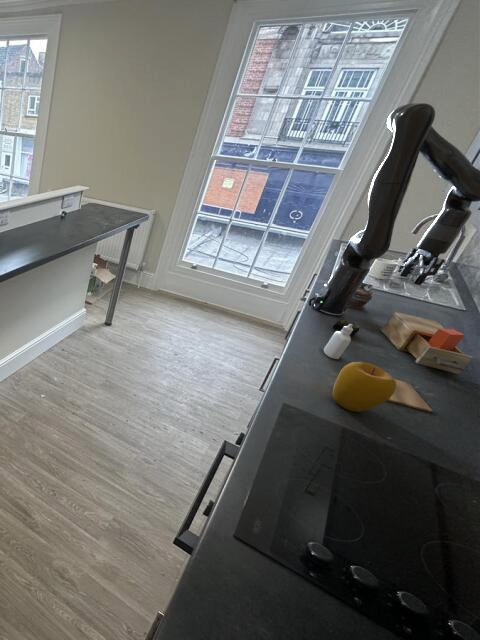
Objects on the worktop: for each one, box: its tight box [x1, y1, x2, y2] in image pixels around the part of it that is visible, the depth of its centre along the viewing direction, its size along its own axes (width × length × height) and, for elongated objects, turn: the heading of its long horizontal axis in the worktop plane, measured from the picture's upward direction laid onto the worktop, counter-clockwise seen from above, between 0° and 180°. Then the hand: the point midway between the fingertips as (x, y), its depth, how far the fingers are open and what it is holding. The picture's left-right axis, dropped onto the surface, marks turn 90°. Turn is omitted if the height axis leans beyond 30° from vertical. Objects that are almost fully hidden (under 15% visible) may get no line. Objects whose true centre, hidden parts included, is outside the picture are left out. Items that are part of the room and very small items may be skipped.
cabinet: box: [381, 311, 446, 354], centre depth 142 cm, size 15×12×8 cm
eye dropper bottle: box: [323, 324, 353, 360], centre depth 130 cm, size 4×6×12 cm
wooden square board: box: [386, 378, 434, 413], centre depth 118 cm, size 12×14×1 cm
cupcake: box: [346, 281, 374, 310], centre depth 169 cm, size 10×10×10 cm
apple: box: [332, 361, 396, 413], centre depth 107 cm, size 11×11×13 cm
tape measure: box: [332, 319, 360, 337], centre depth 147 cm, size 7×7×4 cm
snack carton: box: [428, 328, 466, 351], centre depth 131 cm, size 4×6×10 cm, turn 96°
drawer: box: [405, 333, 473, 374], centre depth 132 cm, size 18×11×6 cm, turn 156°
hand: (409, 280), depth 147 cm, fingers open, 8 cm apart
